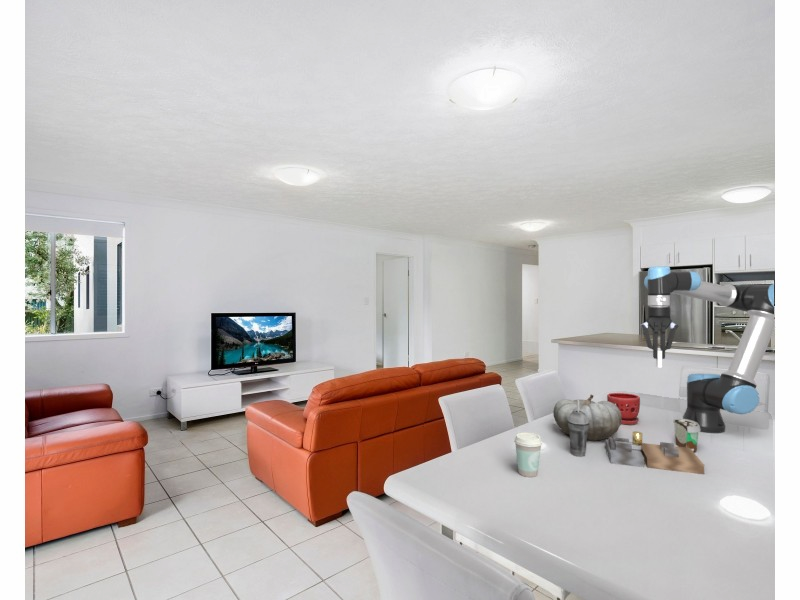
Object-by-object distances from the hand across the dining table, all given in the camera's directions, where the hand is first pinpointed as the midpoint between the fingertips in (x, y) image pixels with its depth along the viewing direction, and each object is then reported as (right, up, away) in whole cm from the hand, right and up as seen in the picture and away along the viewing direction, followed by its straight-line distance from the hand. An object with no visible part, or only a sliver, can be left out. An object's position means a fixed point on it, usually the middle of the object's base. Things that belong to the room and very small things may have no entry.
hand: (659, 367), depth 169 cm
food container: (+6, -29, -9) cm, 31 cm away
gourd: (-25, -29, +7) cm, 39 cm away
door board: (-13, -29, -19) cm, 37 cm away
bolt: (-20, -26, -16) cm, 37 cm away
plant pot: (-1, -29, +26) cm, 39 cm away
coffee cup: (-60, -30, -30) cm, 73 cm away
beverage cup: (-37, -29, -13) cm, 49 cm away
